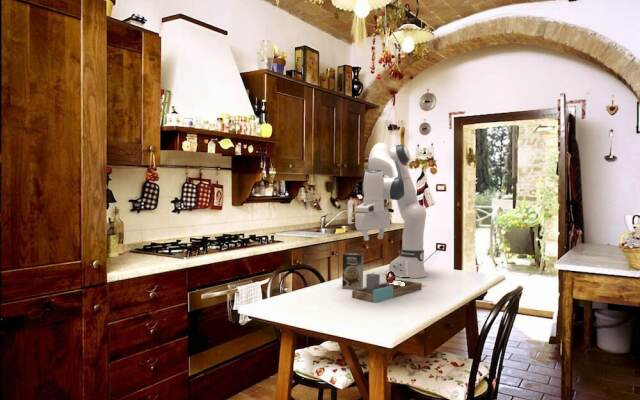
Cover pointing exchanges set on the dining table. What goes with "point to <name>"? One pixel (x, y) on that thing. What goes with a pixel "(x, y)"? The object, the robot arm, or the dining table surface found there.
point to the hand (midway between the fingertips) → (373, 239)
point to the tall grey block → (372, 282)
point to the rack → (387, 291)
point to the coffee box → (352, 271)
